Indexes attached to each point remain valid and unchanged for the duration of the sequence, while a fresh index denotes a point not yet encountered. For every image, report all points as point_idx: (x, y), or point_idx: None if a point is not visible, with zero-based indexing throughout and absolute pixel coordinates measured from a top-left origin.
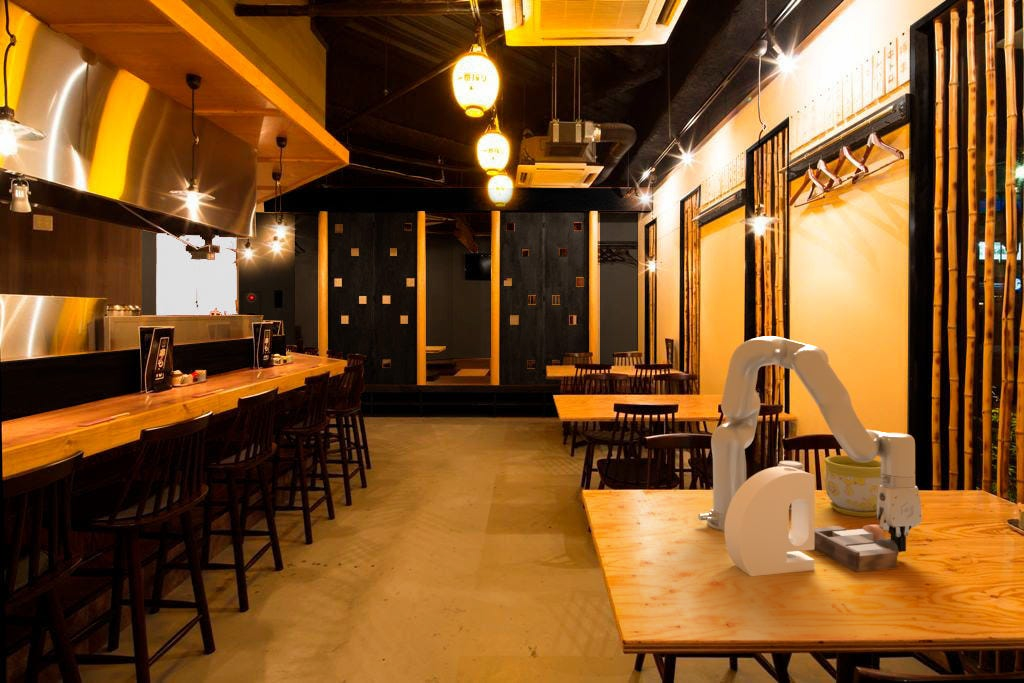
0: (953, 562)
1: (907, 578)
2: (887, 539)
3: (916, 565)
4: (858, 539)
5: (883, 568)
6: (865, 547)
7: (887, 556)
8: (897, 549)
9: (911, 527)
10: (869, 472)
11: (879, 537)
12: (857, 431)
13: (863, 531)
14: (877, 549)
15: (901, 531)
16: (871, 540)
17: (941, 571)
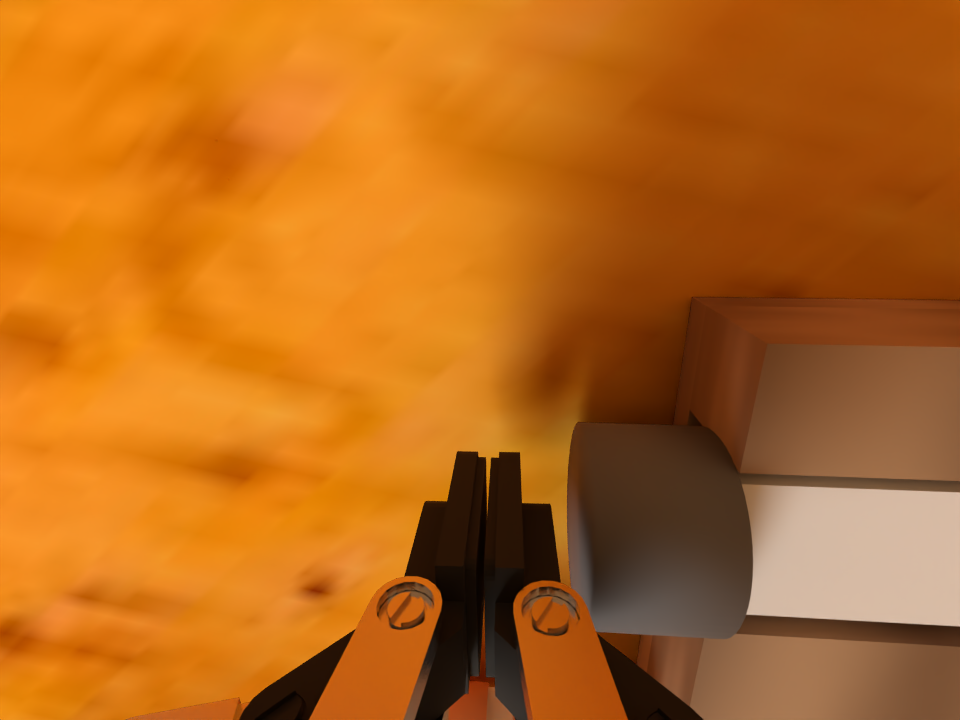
0: (86, 285)
1: (842, 50)
2: (645, 603)
3: (459, 306)
4: (798, 711)
5: (854, 301)
6: (946, 559)
7: (896, 334)
8: (600, 450)
9: (230, 707)
10: None
11: None
12: None
13: None
14: (910, 474)
15: (436, 670)
16: None
17: (340, 134)
